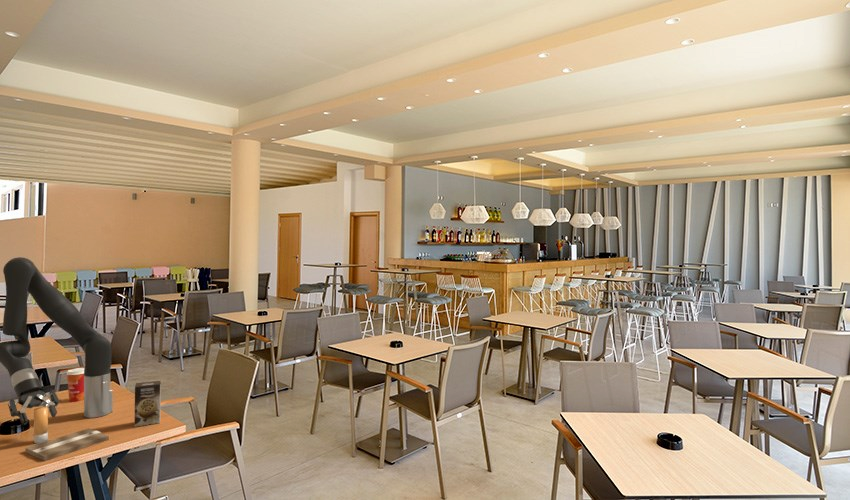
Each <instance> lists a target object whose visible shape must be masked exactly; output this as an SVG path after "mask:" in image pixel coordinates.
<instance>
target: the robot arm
mask: <svg viewBox="0 0 850 500" xmlns="http://www.w3.org/2000/svg"><path fill="white" fill-rule="evenodd" d="M2 271H3V276H4V282H5V293H6V294H5V304H4V310H3V311H4V312H3V320H2V321H3V322H2V334H3V335H5V336H9V337H10V336H11V337H12V336H13V337H15V338H17V339H15V340H8V341H7V340H5V341H1V342H0V363H1V364H2V366H3V367H4V368H5V369H6V370H7V373H8V374H9V377H10V380H11V385H12V388H13V391H14V393H15V395H16V397H17V399H14V398H10V399H9V401H8V403H7V406H8V409H9V412H10V416H11V417H12V418H13V417H18V418H19V420H20V423H21V424H23V425H25V426H26V425H27V424H28V423H29V419H28V416H27V413H26V412H25V411H26V409H32V408H36V407H37V408H39V407H48V412H49V414H50V416H51V418H55V417H56V415H57V413H58V411H57V408H56V407H57V406H58V405H59V403H60V399H59V397H58V394H57V393H56V391H55V389H51V390H50V391H49V392H48V391H47V392H45V391H44V389H43V386H42V384H41V382H40V379H39V377H38V375H37V373H36V371H35V369H34V367H33V365H32V362H31V360H30V359H29V358H27V356H29V353H30V352H31V344H30V340H29V337H28V332H27V324H28V323H27V322H28V293H29V294H30V296H31V298H32V299H33V300H34V301H35V304H36V305H37V306H38V307H39V309H40V310H41V311H42V313H44V315H46V316H47V318H49V319H50V321H52V322H53V323H54V324H55V325H56V326H57V327H59V328H60V329H62V330H63V331H64V332H66V333H67V334H69V336H71V337H72V338H73V340H75V341H76V343H77V344H78V345H79V346H80V348H81V349H82V351H83V352H84V365H85V366H84V368H85V369H84V399H83V400H84V402H83V406H84V407H83V416H84V417H85V418H98V417H99V418H100V417H103V416H106V415H108V414H110V413H113V411H114V409H113V407H114V405H113V404H114V403H113V402H114V401H113V398H114V397H113V396H114V395H113V394H114V393H113V391H114V390H113V389H111V367H112V356H113V355H112V343H111V342H110V340H109V339H107V337H105V336H103V335H102V334H101V333H99V332H98V331H97V330H96V329H94V327H92V326H91V325H90V324H89V323H88V322H87V320H86V319H85V318H84V316H83V314H82V313H81V312H80V311H79V309H78V308H77V307H76V306H75V305H74V304H73V302H71V301H70V299H68V298H67V297H66V296H65V295H64V293H62V292H61V291H60V290H58V288H56V287H55V286H54V285H52V283H50V282H49V281H48V280H47V279H46V278H45V276H44V275H43V274H42V272H41V271H40V270H39V269H38V267H36V265H35V263H34V262H33V261H32V260H31V259H28V258H26V257H21V256H19V257H13V258H11V259H10V260H8V261H7V262H6V263H5V264H4V267H3V269H2ZM18 404H19V405H21V406H22V408H21V409H19V410H18V409H17V405H18Z"/></svg>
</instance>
